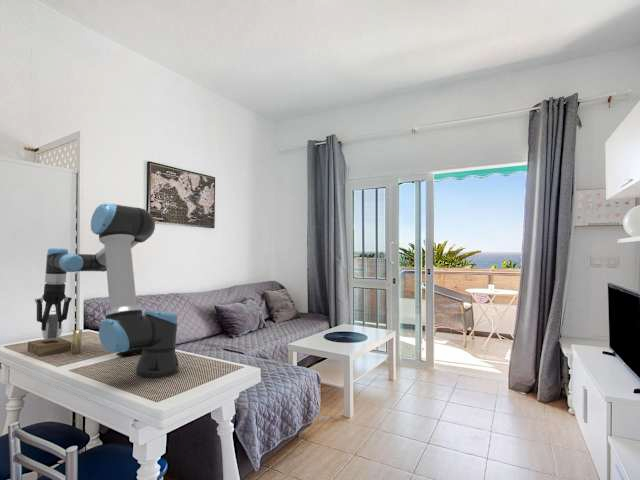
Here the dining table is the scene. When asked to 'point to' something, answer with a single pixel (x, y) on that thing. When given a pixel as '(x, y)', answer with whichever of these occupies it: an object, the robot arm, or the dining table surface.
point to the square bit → (52, 326)
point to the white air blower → (61, 323)
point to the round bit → (76, 342)
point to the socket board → (49, 346)
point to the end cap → (130, 352)
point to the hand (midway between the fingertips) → (50, 337)
